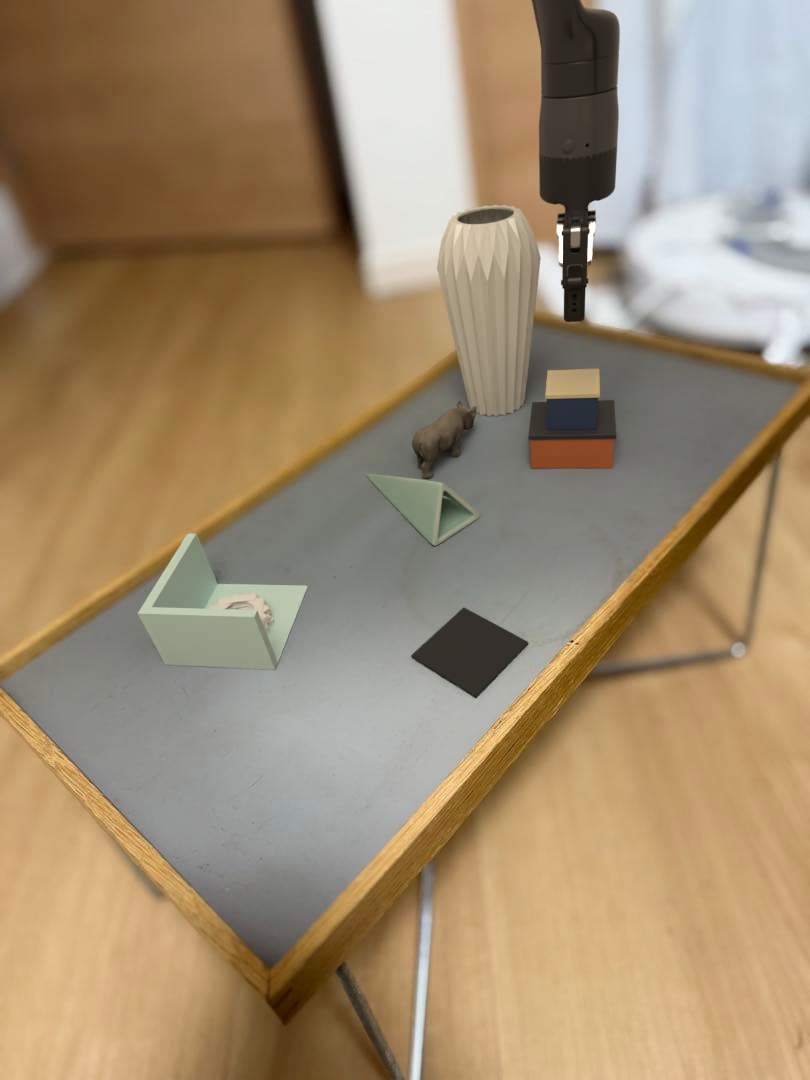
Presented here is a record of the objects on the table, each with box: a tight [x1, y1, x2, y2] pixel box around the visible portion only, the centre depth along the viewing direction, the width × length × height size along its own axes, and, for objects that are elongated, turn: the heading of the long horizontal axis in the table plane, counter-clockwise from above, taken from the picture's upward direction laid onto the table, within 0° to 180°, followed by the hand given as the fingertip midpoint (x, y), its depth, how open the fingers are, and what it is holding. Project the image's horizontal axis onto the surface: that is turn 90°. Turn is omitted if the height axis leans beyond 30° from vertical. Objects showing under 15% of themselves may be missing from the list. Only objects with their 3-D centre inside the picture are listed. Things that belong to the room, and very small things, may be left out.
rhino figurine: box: [411, 400, 477, 479], centre depth 93 cm, size 4×14×6 cm, turn 141°
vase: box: [436, 204, 542, 418], centre depth 95 cm, size 13×13×26 cm
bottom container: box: [527, 399, 617, 469], centre depth 90 cm, size 10×8×5 cm
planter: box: [366, 473, 481, 547], centre depth 87 cm, size 8×6×18 cm
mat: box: [410, 606, 529, 699], centre depth 67 cm, size 8×8×1 cm
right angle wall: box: [137, 532, 309, 671], centre depth 73 cm, size 12×12×8 cm
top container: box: [544, 368, 601, 430], centre depth 87 cm, size 6×6×5 cm
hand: (574, 305), depth 79 cm, fingers open, 8 cm apart
